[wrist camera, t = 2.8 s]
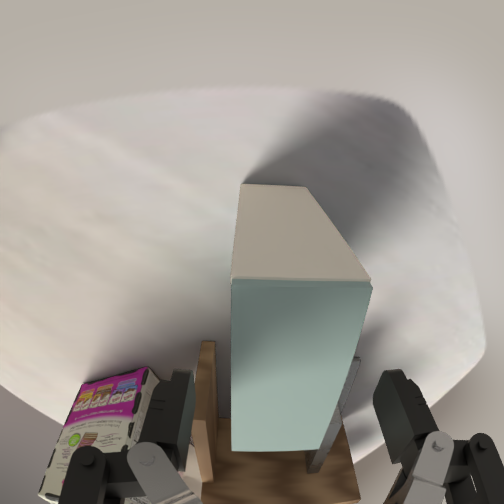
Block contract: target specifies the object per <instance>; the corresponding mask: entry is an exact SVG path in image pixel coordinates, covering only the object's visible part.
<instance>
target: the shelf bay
mask: <svg viewBox="0 0 504 504" xmlns="http://www.w3.org/2000/svg"><path fill="white" fill-rule="evenodd" d="M195 392H196V404H195V411H194V418H193V424H192V430H191V433H192V438H193V443H194V448H195V453H196V457H197V462H198V466H199V471H200V475H201V479H202V490H201V501H202V503H203V504H353V503H358V502H359V501H360V500H361V497H360V493H359V488H358V484H357V479H356V475H355V471H354V466H353V462H352V457H351V453H350V449H349V445H348V441H347V437H346V433H345V429H344V425H343V421H342V425H341V427H340V430H339V432H338V434H337V436H336V438H335V440H334V442H333V445H332V447H331V449H330V451H329V453H328V455H327V457H326V459H325V461H324V463H323V465H322V467H321V469H320V471H319V472H318V473H309V474H307V469H306V461H305V454H304V450H298V451H263V452H256V451H232V441H231V419H229V418H219V414H218V397H217V377H216V355H215V342H211V341H202V344H201V349H200V355H199V361H198V367H197V372H196V378H195ZM341 420H342V417H341Z"/></svg>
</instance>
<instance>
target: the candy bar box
mask: <svg viewBox="0 0 504 504" xmlns="http://www.w3.org/2000/svg"><path fill="white" fill-rule="evenodd" d="M159 382H160V380H159V379H158V378H157V376H156V375H155V374H154V373H153V372H152V371H151V370H150V368H149V367H143V368H140V369H136V370H133V371H130V372H127V373H123V374H120V375H116V376H113V377H109V378H106V379H102V380H98V381H94V382H90V383H86V384H82V385H81V388H80V390H79V392H78V394H77V396H76V399H75V401H74V403H73V405H72V408H71V410H70V412H69V415H68V417H67V419H66V422H65V424H64V426H63V429H62V431H61V434H60V437H59V439H58V441H57V443H56V446H55V449H54V451H53V454H52V457H51V459H50V462H49V465H48V467H47V470H46V473H45V476H44V478H43V481H42V484H41V487H40V490H39V493H38V495H39V496H40V497H42V498H43V499H44V500H46V501H47V502H49V503H51V504H58V501H59V497H60V493H61V490H62V486H63V483H64V479H65V476H66V472H67V469H68V466H69V462H70V459H71V456H72V454H73V452H74V451H75V450H76V449H78V448H80V447H82V446H94V447H96V448H98V449H100V450H101V451H102V452H103V453H109V452H121V451H126V450H128V449H130V448H132V447H133V446H134V445H135V444H136V443H137V441H138V440H139V437H140V433H141V430H142V426H143V423H144V419H145V416H146V412H147V409H148V406H149V402H150V400H151V395H152V392H153V389H154V388H155V386H156V385H157V384H158V383H159ZM124 504H151V502H150V500H149V499H148V497H147V496H143V497H131V498H125V502H124Z"/></svg>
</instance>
